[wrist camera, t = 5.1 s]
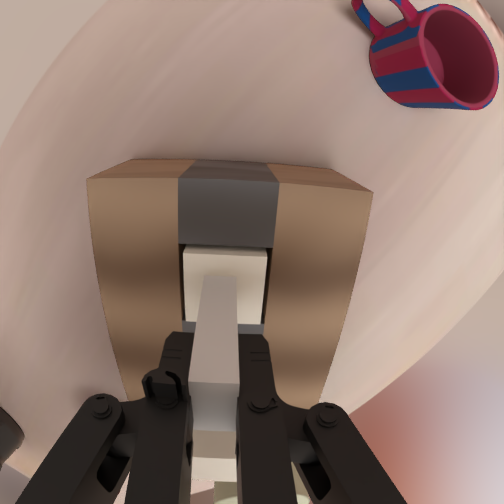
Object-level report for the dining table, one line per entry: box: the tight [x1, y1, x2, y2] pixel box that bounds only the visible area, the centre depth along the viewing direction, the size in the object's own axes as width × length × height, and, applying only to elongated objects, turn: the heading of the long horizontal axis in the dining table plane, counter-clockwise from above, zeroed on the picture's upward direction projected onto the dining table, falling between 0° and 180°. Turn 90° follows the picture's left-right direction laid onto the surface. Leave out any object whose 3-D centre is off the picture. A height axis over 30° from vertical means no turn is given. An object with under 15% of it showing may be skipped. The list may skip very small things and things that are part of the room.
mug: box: [351, 0, 499, 110], centre depth 14 cm, size 7×10×7 cm
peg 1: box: [183, 244, 267, 324], centre depth 18 cm, size 4×4×7 cm
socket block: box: [86, 159, 373, 409], centre depth 21 cm, size 22×14×7 cm, turn 176°
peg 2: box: [191, 428, 237, 482], centre depth 19 cm, size 4×4×7 cm
